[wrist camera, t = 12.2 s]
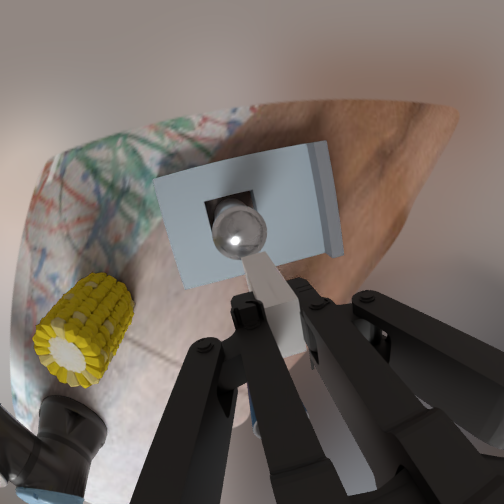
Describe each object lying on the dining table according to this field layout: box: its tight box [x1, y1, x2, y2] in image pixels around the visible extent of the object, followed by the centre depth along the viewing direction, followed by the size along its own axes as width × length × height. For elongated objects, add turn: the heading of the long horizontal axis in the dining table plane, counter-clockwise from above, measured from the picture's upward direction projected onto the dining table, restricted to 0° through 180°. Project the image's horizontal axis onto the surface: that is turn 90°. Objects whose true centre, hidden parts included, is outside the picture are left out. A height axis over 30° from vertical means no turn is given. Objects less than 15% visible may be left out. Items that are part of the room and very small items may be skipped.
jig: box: [152, 140, 344, 290], centre depth 35 cm, size 20×14×5 cm
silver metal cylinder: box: [212, 198, 267, 260], centre depth 32 cm, size 5×5×10 cm
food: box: [32, 272, 135, 388], centre depth 31 cm, size 15×12×10 cm
